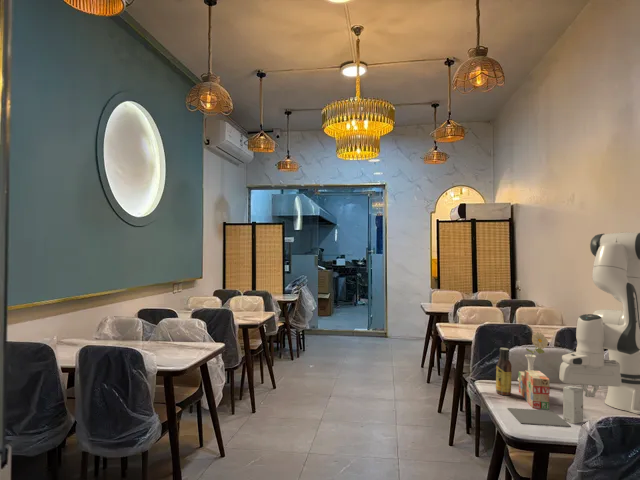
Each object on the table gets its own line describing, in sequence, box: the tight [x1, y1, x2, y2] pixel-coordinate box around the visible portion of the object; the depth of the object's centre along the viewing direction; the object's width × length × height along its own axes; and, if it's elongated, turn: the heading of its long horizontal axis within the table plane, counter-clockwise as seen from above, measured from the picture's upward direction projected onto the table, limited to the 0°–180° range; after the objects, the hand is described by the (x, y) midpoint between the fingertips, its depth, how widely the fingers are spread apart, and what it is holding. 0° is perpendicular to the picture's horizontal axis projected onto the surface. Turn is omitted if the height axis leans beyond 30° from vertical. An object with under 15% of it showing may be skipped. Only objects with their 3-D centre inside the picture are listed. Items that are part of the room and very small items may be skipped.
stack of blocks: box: [518, 369, 551, 411], centre depth 178 cm, size 21×6×12 cm, turn 169°
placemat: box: [506, 407, 572, 428], centre depth 158 cm, size 17×15×1 cm
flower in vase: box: [517, 332, 549, 383], centre depth 200 cm, size 13×11×25 cm
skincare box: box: [562, 385, 584, 425], centre depth 156 cm, size 6×4×12 cm
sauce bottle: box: [495, 347, 513, 396], centre depth 186 cm, size 7×6×20 cm
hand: (589, 396), depth 156 cm, fingers closed
